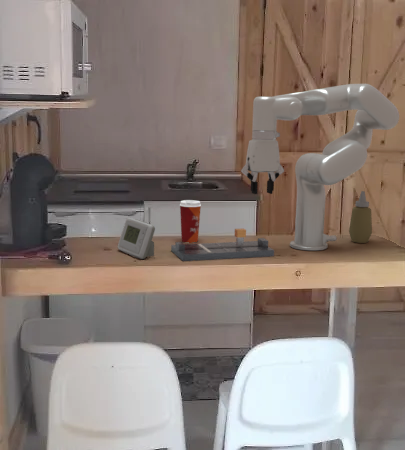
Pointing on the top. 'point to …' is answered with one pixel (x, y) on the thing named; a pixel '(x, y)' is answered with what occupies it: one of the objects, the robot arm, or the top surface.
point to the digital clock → (137, 239)
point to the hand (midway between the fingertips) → (262, 192)
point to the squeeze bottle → (361, 221)
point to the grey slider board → (222, 250)
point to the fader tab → (240, 236)
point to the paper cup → (190, 220)
